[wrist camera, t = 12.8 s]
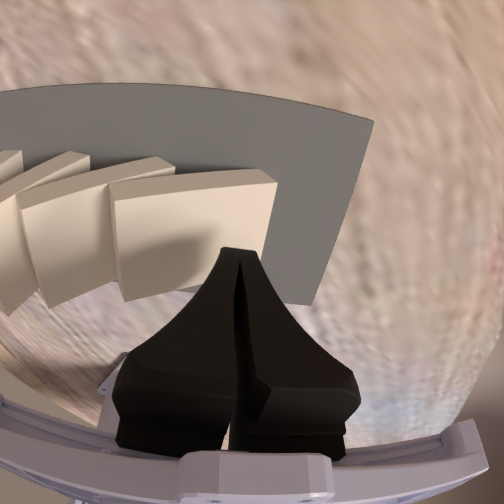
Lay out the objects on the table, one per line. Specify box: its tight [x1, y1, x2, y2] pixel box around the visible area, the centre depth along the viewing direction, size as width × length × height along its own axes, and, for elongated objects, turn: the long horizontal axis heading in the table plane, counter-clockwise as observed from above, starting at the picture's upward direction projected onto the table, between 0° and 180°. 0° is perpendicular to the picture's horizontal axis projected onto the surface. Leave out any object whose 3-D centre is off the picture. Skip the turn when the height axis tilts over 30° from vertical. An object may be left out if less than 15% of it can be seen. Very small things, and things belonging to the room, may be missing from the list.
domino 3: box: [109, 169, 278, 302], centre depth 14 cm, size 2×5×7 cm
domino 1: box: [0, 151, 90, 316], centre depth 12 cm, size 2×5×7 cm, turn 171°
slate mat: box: [0, 83, 374, 306], centre depth 16 cm, size 28×12×1 cm, turn 81°
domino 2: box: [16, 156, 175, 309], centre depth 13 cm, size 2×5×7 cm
